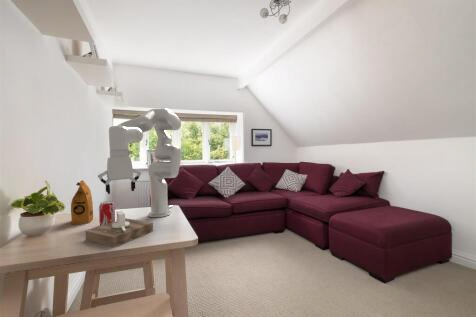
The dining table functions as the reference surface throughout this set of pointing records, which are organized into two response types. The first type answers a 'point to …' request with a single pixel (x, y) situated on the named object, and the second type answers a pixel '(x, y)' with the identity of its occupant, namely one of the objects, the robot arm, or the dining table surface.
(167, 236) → the dining table surface
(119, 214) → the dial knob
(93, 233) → the flat wooden block
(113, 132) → the robot arm
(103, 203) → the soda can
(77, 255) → the dining table surface
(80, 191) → the coffee package
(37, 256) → the dining table surface
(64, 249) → the dining table surface
